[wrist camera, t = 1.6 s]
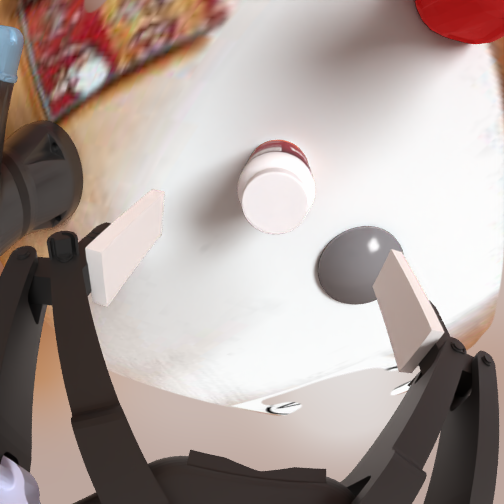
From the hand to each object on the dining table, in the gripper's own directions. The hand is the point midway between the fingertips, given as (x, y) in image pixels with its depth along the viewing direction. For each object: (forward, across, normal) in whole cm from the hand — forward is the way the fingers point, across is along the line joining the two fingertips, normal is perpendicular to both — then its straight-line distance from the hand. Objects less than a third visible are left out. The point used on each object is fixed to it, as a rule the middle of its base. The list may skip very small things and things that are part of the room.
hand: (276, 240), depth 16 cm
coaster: (+16, +13, -9) cm, 22 cm away
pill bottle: (+16, 0, 0) cm, 16 cm away
